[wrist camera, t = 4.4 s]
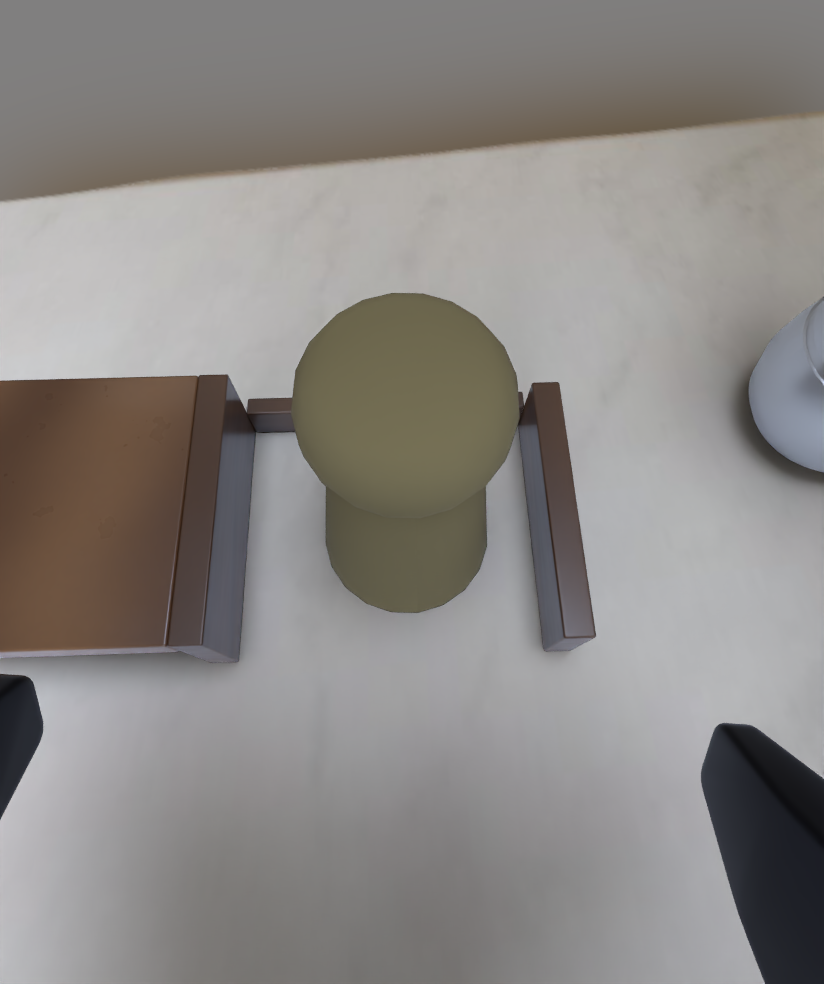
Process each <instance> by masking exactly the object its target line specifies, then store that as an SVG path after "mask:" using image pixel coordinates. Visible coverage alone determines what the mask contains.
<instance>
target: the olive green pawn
mask: <svg viewBox="0 0 824 984" xmlns="http://www.w3.org/2000/svg"><path fill="white" fill-rule="evenodd" d="M291 417H292V420H293V424H294V428H295V432H296V436H297V440H298V443H299V446H300V449H301V451H302V454H303V456H304V458H305V459H306V461H307V462H308V463H309V465H310V466H311V468H312V469H313V471H314V472H315V473H316V475H317V476H318V478H319V479H320V481H321V482H322V483H323V484H324V485H325V486H326V546H327V550H328V554H329V558H330V561H331V565H332V568H333V569H334V571H335V572H336V574H337V575H338V577H339V578H340V580H341V581H342V583H343V584H344V586H345V587H346V588H347V589H348V590H350V591H351V592H352V593H354V594H355V595H356V596H357V597H359V598H360V599H361V600H363V601H364V602H365V603H367V604H370V605H373V606H375V607H378V608H381V609H384V610H387V611H390V612H414V613H418V612H422V611H425V610H428V609H431V608H435V607H438V606H441V605H444V604H445V603H447V602H448V601H450V600H451V599H452V598H454V597H455V596H457V595H458V594H459V593H461V592H462V591H464V590H465V589H466V587H467V586H468V585H469V583H470V582H471V580H472V579H473V578H474V576H475V575H476V574H477V572H478V571H479V570H480V566H481V563H482V560H483V557H484V554H485V550H486V547H487V528H486V485H487V484H488V482H489V481H490V480H491V478H492V477H493V476H494V475H495V473H496V472H497V471H498V469H499V468H500V467H501V465H502V464H503V463H504V462H505V460H506V458H507V455H508V453H509V450H510V447H511V444H512V441H513V438H514V435H515V431H516V428H517V425H518V422H519V419H520V416H519V398H518V384H517V376H516V373H515V370H514V368H513V366H512V363H511V361H510V359H509V357H508V354H507V352H506V350H505V347H504V346H503V345H502V344H501V342H500V341H499V340H498V339H497V338H496V337H495V336H494V335H493V334H492V332H491V331H490V330H489V329H488V328H487V327H486V326H485V325H484V324H483V323H482V322H481V320H480V319H479V318H478V317H476V316H475V315H473V314H471V313H470V312H468V311H466V310H465V309H463V308H461V307H460V306H458V305H456V304H455V303H453V302H451V301H447V300H444V299H440V298H437V297H433V296H430V295H426V294H417V293H390V294H386V295H382V296H378V297H374V298H369V299H365V300H362V301H360V302H358V303H357V304H355V305H353V306H351V307H349V308H348V309H346V310H344V311H342V312H340V313H338V314H337V315H336V316H335V317H334V318H333V319H332V320H331V321H330V322H329V323H328V324H327V325H326V326H325V327H324V328H323V329H322V330H321V331H320V332H319V333H318V334H317V335H316V336H315V337H314V338H313V339H312V340H311V341H310V342H309V344H308V346H307V348H306V350H305V352H304V354H303V356H302V358H301V360H300V362H299V364H298V366H297V368H296V371H295V380H294V388H293V398H292V407H291Z"/></svg>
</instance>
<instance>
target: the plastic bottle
mask: <svg viewBox="0 0 824 984" xmlns="http://www.w3.org/2000/svg"><path fill="white" fill-rule="evenodd" d="M749 401H750V406H751V410H752V414H753V418H754V421H755V423H756V425H757V427H758V429H759V431H760V432H761V434H762V435H763V437H764V438H765V439H766V441H767V442H768V443H769V444H770V445H771V446H772V447H773V448H774V449H775V450H776V451H778V452H779V453H780V454H782V455H783V456H785V457H786V458H788V459H789V460H791V461H793V462H795V463H797V464H799V465H801V466H803V467H806V468H809V469H812V470H816V471H820V472H824V297H823V298H821V299H820V300H818V301H817V302H815V303H814V304H812V305H811V306H809V307H808V308H806V309H805V310H804V311H802V312H801V313H800V314H799V315H797V316H796V317H795V318H794V319H793V320H791V321H790V322H789V323H788V324H787V325H785V326H784V327H783V328H782V329H781V330H780V331H779V332H778V333H777V334H776V335H775V336H774V337H773V338H772V339H771V340H770V342H769V344H768V345H767V347H766V349H765V351H764V352H763V354H762V356H761V358H760V359H759V361H758V363H757V365H756V367H755V368H754V370H753V372H752V374H751V378H750V382H749Z"/></svg>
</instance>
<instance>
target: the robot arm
mask: <svg viewBox="0 0 824 984" xmlns="http://www.w3.org/2000/svg"><path fill="white" fill-rule="evenodd" d="M42 734H43V719H42V715H41V711H40V707H39V703H38V699H37V695H36V691H35V687H34V684H33V682H32V680H31V679H30V678H29V677H26V676H22V675H7V674H0V819H1V817H2V815H3V813H4V811H5V809H6V807H7V805H8V803H9V802H10V800H11V798H12V796H13V794H14V792H15V790H16V788H17V786H18V784H19V782H20V780H21V778H22V776H23V774H24V772H25V770H26V768H27V766H28V764H29V763H30V761H31V759H32V757H33V755H34V753H35V751H36V749H37V747H38V745H39V743H40V740H41V737H42ZM701 783H702V788H703V792H704V796H705V799H706V803H707V806H708V810H709V813H710V817H711V820H712V824H713V827H714V831H715V835H716V838H717V842H718V845H719V849H720V852H721V856H722V859H723V863H724V866H725V870H726V873H727V877H728V880H729V884H730V887H731V891H732V894H733V897H734V901H735V904H736V907H737V910H738V914H739V916H740V919H741V922H742V925H743V927H744V930H745V933H746V936H747V938H748V941H749V943H750V946H751V948H752V951H753V954H754V956H755V959H756V961H757V964H758V966H759V969H760V972H761V974H762V977H763V979H764V982H765V984H824V779H823V778H822V777H820V776H819V775H818V774H816V773H815V772H814V771H813V770H811V769H810V768H809V767H807V766H806V765H805V764H803V763H802V762H801V761H799V760H798V759H797V758H795V757H794V756H793V755H791V754H790V753H789V752H787V751H786V750H785V749H783V748H782V747H781V746H780V745H778V744H777V743H776V742H774V741H773V740H772V739H770V738H769V737H768V736H766V735H765V734H764V733H762V732H761V731H760V730H758V729H757V728H755V727H753V726H751V725H746V724H732V723H722V724H719V725H718V726H717V727H716V728H715V730H714V732H713V735H712V738H711V741H710V744H709V747H708V751H707V754H706V757H705V760H704V763H703V766H702V771H701Z"/></svg>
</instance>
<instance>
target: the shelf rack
mask: <svg viewBox="0 0 824 984" xmlns="http://www.w3.org/2000/svg"><path fill="white" fill-rule="evenodd" d="M518 398H519V416H521V417H520V420H519V423H518V426H519V435H520V443H521V452H522V461H523V470H524V479H525V488H526V497H527V506H528V515H529V523H530V532H531V541H532V550H533V559H534V568H535V577H536V586H537V594H538V603H539V612H540V621H541V630H542V639H543V648H544V651H570V650H572V649H574V648H576V647H578V646H580V645H582V644H584V643H585V642H587V641H589V640H591V639H593V638H595V637H596V632H595V625H594V619H593V612H592V605H591V598H590V591H589V584H588V577H587V571H586V564H585V557H584V550H583V543H582V536H581V529H580V522H579V516H578V509H577V502H576V495H575V488H574V481H573V474H572V468H571V461H570V454H569V447H568V440H567V433H566V426H565V420H564V413H563V406H562V399H561V392H560V385H559V383H558V382H545V383H532V385H531V388H530V391H529V394H528V397H527V400H526V403H525V405H524V401H523V393H522V392H518ZM291 407H292V398H264V399H248V406H247V412H246V410H245V408H244V406H243V404H242V402H241V400H240V398H239V396H238V394H237V392H236V390H235V388H234V386H233V384H232V382H231V380H230V378H229V376H228V375H200V376H199V377H198V376H167V377H128V378H89V379H50V380H10V381H0V658H13V657H43V656H73V655H103V654H133V653H163V652H178V651H181V652H184V653H187V654H189V655H192V656H195V657H197V658H200V659H203V660H205V661H208V662H211V663H217V662H238V661H239V650H240V636H241V622H242V608H243V595H244V581H245V567H246V553H247V539H248V525H249V512H250V498H251V484H252V470H253V456H254V442H255V431H256V432H279V431H295V428H294V424H293V420H292V417H291Z"/></svg>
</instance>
